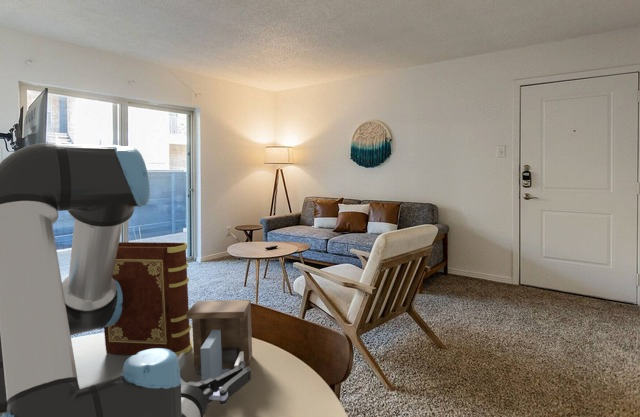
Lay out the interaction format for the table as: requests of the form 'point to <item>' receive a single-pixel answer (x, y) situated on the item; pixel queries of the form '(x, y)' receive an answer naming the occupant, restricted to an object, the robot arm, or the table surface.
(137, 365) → the robot arm
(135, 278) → the decorative book
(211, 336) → the bookend
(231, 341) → the cubby
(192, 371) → the table surface
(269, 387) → the table surface
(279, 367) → the table surface
